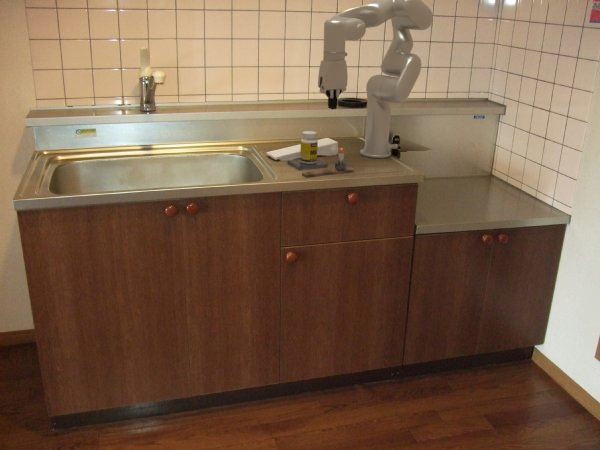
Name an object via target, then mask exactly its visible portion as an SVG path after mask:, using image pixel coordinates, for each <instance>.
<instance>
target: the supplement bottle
mask: <svg viewBox="0 0 600 450" xmlns="http://www.w3.org/2000/svg"><path fill="white" fill-rule="evenodd" d="M318 140H319V139H318V132H317V131H312V130H305V131H302V138H301V140H300V144H301V150H300V158H299V159H300V162H302V163H305V164H314V163H316V162H317V159H318V155H317V148H318Z"/></svg>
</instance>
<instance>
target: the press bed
mask: <svg viewBox="0 0 600 450" xmlns="http://www.w3.org/2000/svg"><path fill="white" fill-rule="evenodd" d="M286 162H287V164H288V165H290V166H291V167H293V168H294V169H296V170H298V171H305V170H312V169H313V170H314V169H322V168H328V166H329V164H328V163H327V162H325V161H323V160H322V159H318V158H317V162H316V163H314V164H305V163H302V162H300V158H297V159H293V160H286Z"/></svg>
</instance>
